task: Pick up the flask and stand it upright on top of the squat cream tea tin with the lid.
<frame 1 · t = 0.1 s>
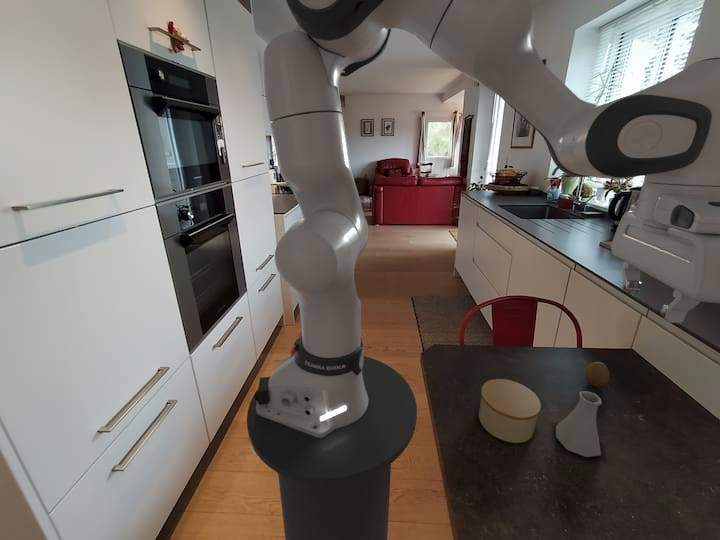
hand: (648, 304, 46), 30 cm above the table, tool pointing down, fingers open, 8 cm apart
egg: (593, 385, 74), on the table
flask: (576, 442, 60), on the table
tea tin: (505, 421, 64), on the table
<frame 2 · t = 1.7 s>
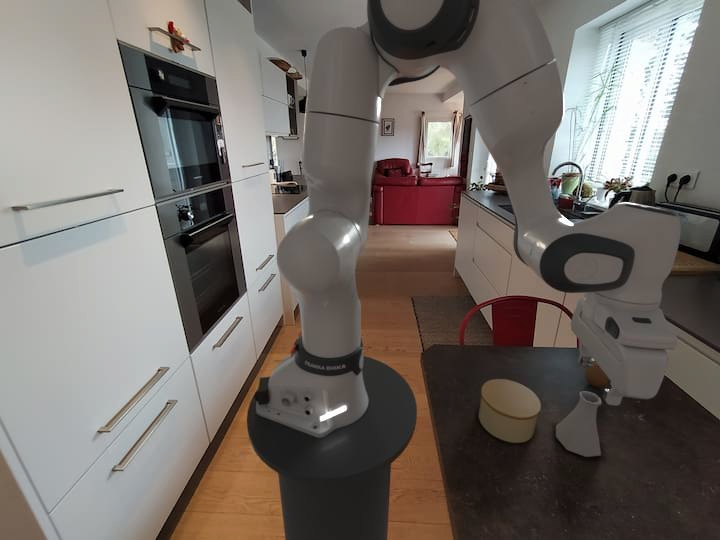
hand: (596, 382, 55), 13 cm above the table, tool pointing down, fingers open, 8 cm apart
nothing on the table moved.
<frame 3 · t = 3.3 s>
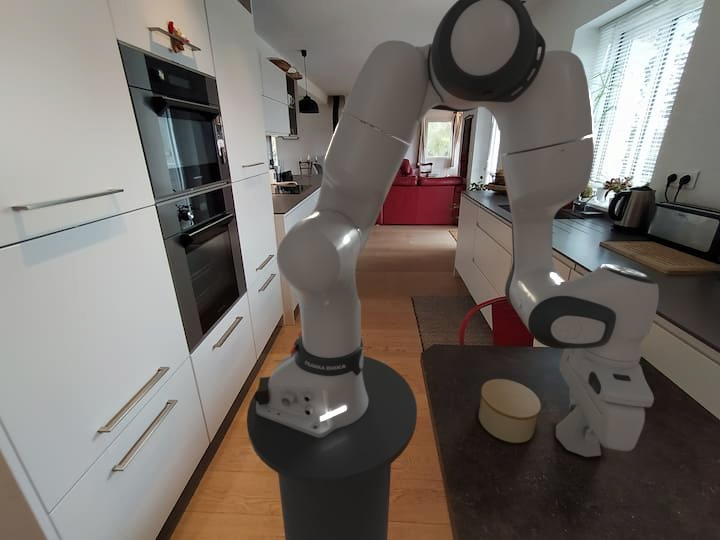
hand: (581, 425, 58), 4 cm above the table, tool pointing down, fingers closed on flask, 5 cm apart
flask: (576, 441, 60), on the table, touching gripper
everything else where it was.
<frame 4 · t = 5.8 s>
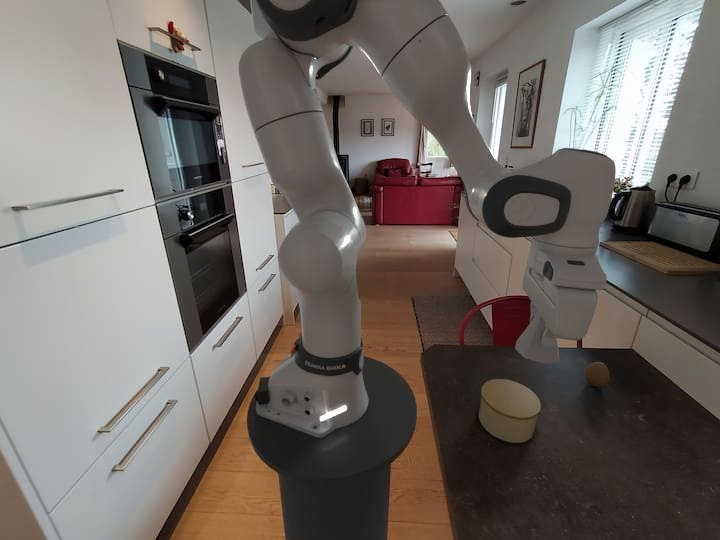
hand: (540, 334, 56), 20 cm above the table, tool pointing down, fingers closed on flask, 5 cm apart
flask: (536, 353, 57), point 17 cm above the table, touching gripper
everything else where it was.
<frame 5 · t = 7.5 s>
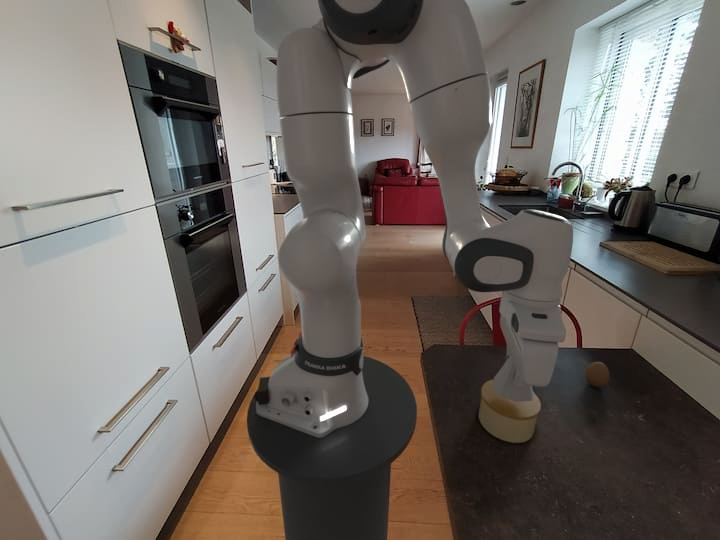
hand: (514, 373, 60), 11 cm above the table, tool pointing down, fingers closed on flask, 5 cm apart
flask: (511, 390, 61), point 8 cm above the table, touching gripper
everything else where it was.
when the fingers open (9 cm above the table, at t = 8.5 s): flask stays where it is, resting on tea tin.
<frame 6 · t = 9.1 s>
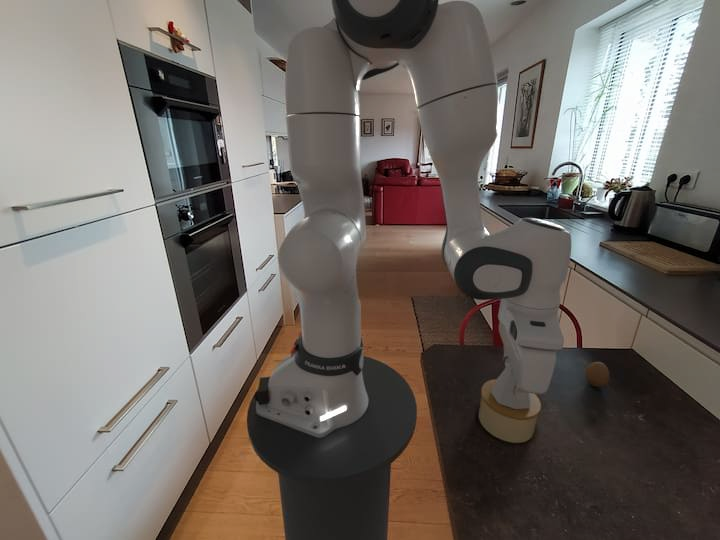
hand: (513, 379, 60), 10 cm above the table, tool pointing down, fingers open, 8 cm apart
flask: (510, 397, 62), point 6 cm above the table, touching tea tin
tea tin: (505, 421, 64), on the table, touching flask
everything else where it was.
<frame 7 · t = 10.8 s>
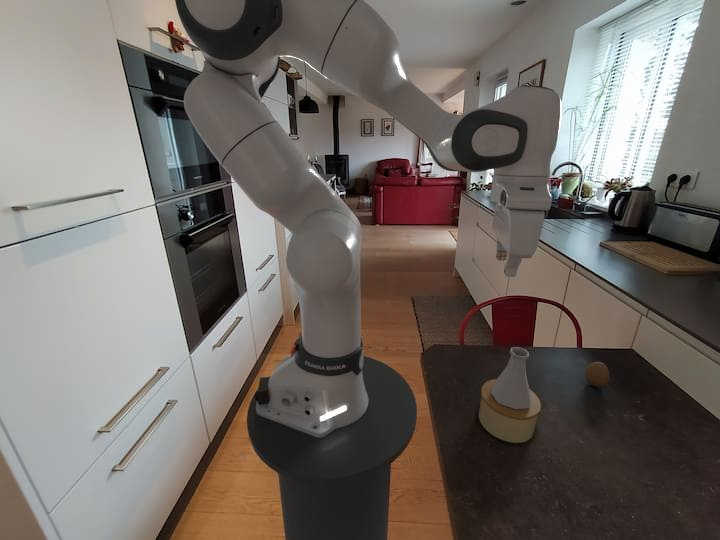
hand: (504, 267, 61), 30 cm above the table, tool pointing down, fingers open, 8 cm apart
nothing on the table moved.
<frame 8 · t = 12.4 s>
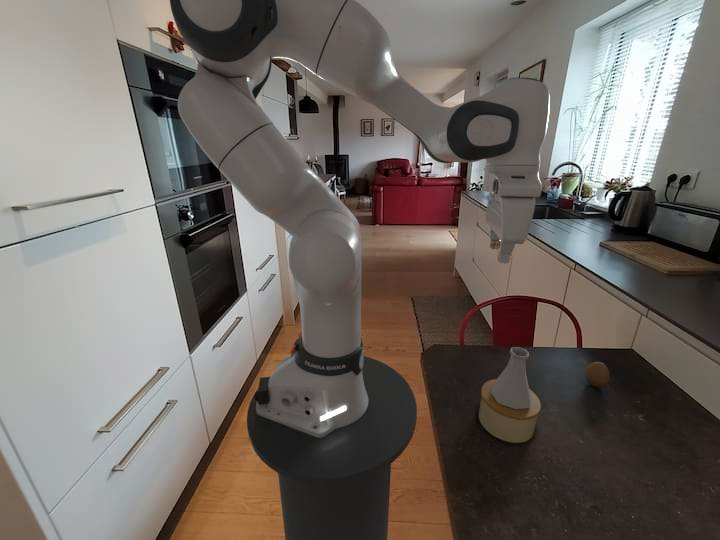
hand: (498, 254, 63), 31 cm above the table, tool pointing down, fingers open, 8 cm apart
nothing on the table moved.
at the end: flask 0.1 cm off-centre on the tea tin, point 5.9 cm above the tea tin's base; flask tilted 0° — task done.
